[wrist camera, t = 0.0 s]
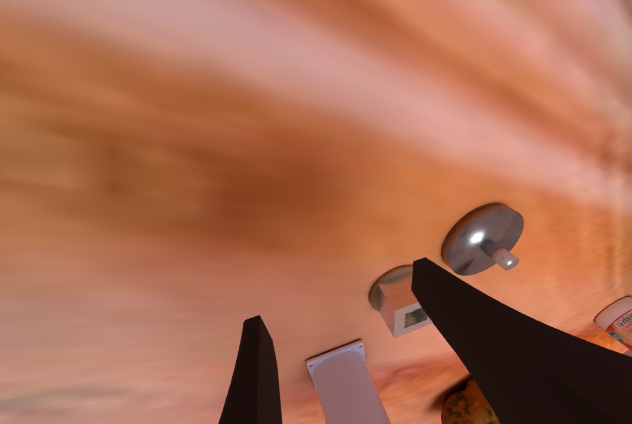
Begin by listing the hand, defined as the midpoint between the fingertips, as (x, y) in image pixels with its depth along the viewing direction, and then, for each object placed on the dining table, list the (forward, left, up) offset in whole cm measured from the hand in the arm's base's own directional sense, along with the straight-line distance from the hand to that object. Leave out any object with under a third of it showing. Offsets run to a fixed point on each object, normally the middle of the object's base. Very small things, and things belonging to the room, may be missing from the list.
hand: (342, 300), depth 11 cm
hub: (-12, -19, -10) cm, 25 cm away
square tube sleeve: (-16, -9, -10) cm, 21 cm away
